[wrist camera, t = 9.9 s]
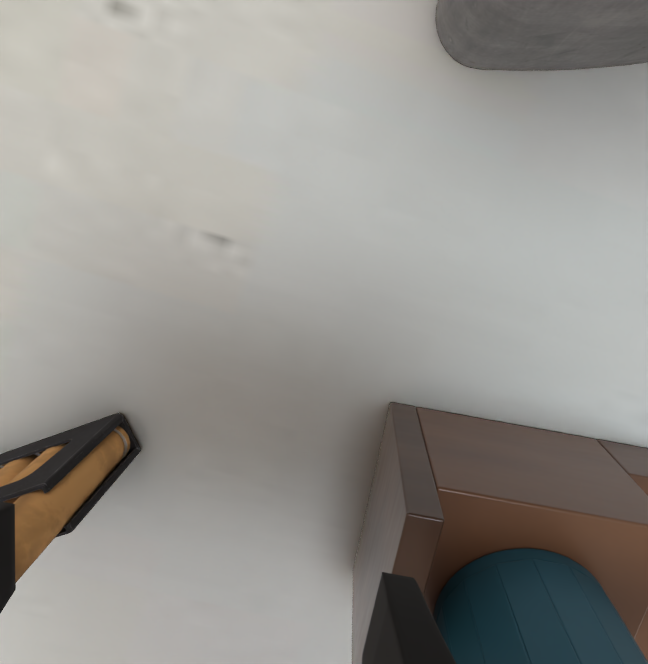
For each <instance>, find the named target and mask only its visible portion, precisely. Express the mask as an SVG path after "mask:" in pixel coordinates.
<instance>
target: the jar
mask: <svg viewBox="0 0 648 664" xmlns="http://www.w3.org/2000/svg"><path fill="white" fill-rule="evenodd" d="M433 618H434V620H435V622H436V624H437V626H438V628H439V630H440V632H441V634H442V636H443V638H444V640H445V642H446V644H447V646H448V648H449V650H450V652H451V654H452V656H453V658H454V660H455V662H456V664H648V661H647V659H646V658H645V656H644V654H643V653H642V651H641V650H640V648H639V646H638V645H637V643H636V641H635V640H634V638H633V636H632V635H631V633H630V631H629V630H628V628H627V626H626V625H625V623H624V621H623V620H622V618H621V616H620V615H619V613H618V611H617V610H616V608H615V607H614V605H613V604H612V602H611V601H610V599H609V598H608V596H607V595H606V593H605V591H604V590H603V588H602V586H601V585H600V583H599V582H598V581H597V579H596V578H595V577H594V576H593V575H592V574H591V573H590V572H589V571H588V570H587V569H586V568H584V567H583V566H581V565H580V564H578V563H577V562H575V561H573V560H571V559H570V558H568V557H565V556H563V555H560V554H557V553H554V552H550V551H546V550H540V549H529V548H519V549H508V550H503V551H498V552H495V553H491V554H488V555H485V556H483V557H481V558H478V559H476V560H474V561H473V562H471V563H469V564H467V565H466V566H464V567H463V568H462V569H461V570H459V571H458V572H457V573H456V574H455V575H454V576H453V577H452V578H451V579H450V580H449V581H448V582H447V584H446V585H445V586H444V588H443V589H442V591H441V593H440V595H439V597H438V600H437V602H436V605H435V610H434V615H433Z"/></svg>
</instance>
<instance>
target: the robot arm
mask: <svg viewBox="0 0 648 664" xmlns="http://www.w3.org/2000/svg"><path fill="white" fill-rule="evenodd" d="M14 591H15V504H12V503H7V502H1V501H0V613H1V611H2V610H3V608H4V607H5V605H6V604H7V602H8V600H9V599H10V597H11V596H12V594H13V592H14ZM362 664H456V662H455V660H454V658H453V656H452V654H451V652H450V650H449V648H448V646H447V644H446V642H445V640H444V638H443V636H442V634H441V632H440V630H439V628H438V626H437V624H436V622H435V620H434V618H433V616H432V614H431V612H430V609H429V607H428V605H427V603H426V601H425V599H424V596H423V594H422V592H421V590H420V587H419V585H418V583H417V582H416V580H415V579H414V578H412V577H407V576H402V575H396V574H391V573H385V572H382V575H381V579H380V583H379V587H378V591H377V595H376V599H375V604H374V608H373V612H372V616H371V620H370V624H369V628H368V632H367V636H366V641H365V645H364V649H363V653H362Z"/></svg>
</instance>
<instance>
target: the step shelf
mask: <svg viewBox="0 0 648 664" xmlns="http://www.w3.org/2000/svg"><path fill="white" fill-rule="evenodd" d="M519 548H529V549H540V550H546V551H550V552H554V553H557V554H560V555H563V556H565V557H568V558H570V559H571V560H573V561H575V562H577V563H578V564H580V565H581V566H583V567H584V568H586V569H587V570H588V571H589V572H590V573H591V574H592V575H593V576H594V577H595V578H596V579H597V581H598V582H599V583H600V585H601V586H602V588H603V590H604V591H605V593H606V595H607V596H608V598H609V599H610V601H611V602H612V604H613V605H614V607H615V608H616V610H617V611H618V613H619V615H620V616H621V618H622V620H623V621H624V623H625V625H626V626H627V628H628V630H629V631H630V633H631V635H632V636H633V638H634V640H635V641H636V643H637V645H638V646H639V648H640V650H641V651H642V653H643V654H644V656H645V658H646V659H647V661H648V449H647V448H642V447H636V446H631V445H625V444H619V443H614V442H608V441H603V440H595V439H591V438H586V437H580V436H575V435H569V434H563V433H558V432H552V431H547V430H541V429H536V428H530V427H525V426H519V425H513V424H508V423H502V422H497V421H491V420H486V419H480V418H475V417H469V416H464V415H458V414H452V413H447V412H441V411H436V410H430V409H425V408H419V407H417V408H416V407H415V406H410V405H404V404H399V403H393V402H391V403H390V406H389V410H388V415H387V419H386V424H385V428H384V433H383V437H382V442H381V446H380V451H379V455H378V460H377V464H376V469H375V473H374V478H373V482H372V487H371V491H370V496H369V500H368V504H367V509H366V513H365V518H364V522H363V527H362V531H361V536H360V540H359V545H358V549H357V554H356V558H355V563H354V567H353V606H352V664H362V653H363V649H364V645H365V641H366V636H367V632H368V628H369V624H370V620H371V616H372V612H373V608H374V604H375V599H376V595H377V591H378V587H379V583H380V579H381V575H382V572H385V573H391V574H396V575H402V576H407V577H412V578H414V579H415V580H416V582H417V583H418V585H419V587H420V590H421V592H422V594H423V596H424V599H425V601H426V603H427V605H428V607H429V609H430V612H431V614H432V616H433V615H434V610H435V605H436V602H437V600H438V597H439V595H440V593H441V591H442V589H443V588H444V586H445V585H446V584H447V582H448V581H449V580H450V579H451V578H452V577H453V576H454V575H455V574H456V573H457V572H458V571H459V570H461V569H462V568H463V567H464V566H466V565H467V564H469V563H471V562H473V561H474V560H476V559H478V558H481V557H483V556H485V555H488V554H491V553H495V552H498V551H503V550H508V549H519Z"/></svg>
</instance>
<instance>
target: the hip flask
mask: <svg viewBox="0 0 648 664" xmlns="http://www.w3.org/2000/svg"><path fill="white" fill-rule="evenodd" d="M436 26H437V32H438V35H439V38H440V41H441V43H442V44H443V46H444V48H445V50H446V51H447V52H448V53H449V54H450V55H451V56H452V58H454V59H455V60H456V61H458V62H459V63H461V64H463V65H465V66H468V67H470V68H476V69H491V70H566V69H585V68H597V67H609V66H620V65H630V64H638V63H645V62H648V0H438V3H437V7H436Z"/></svg>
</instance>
